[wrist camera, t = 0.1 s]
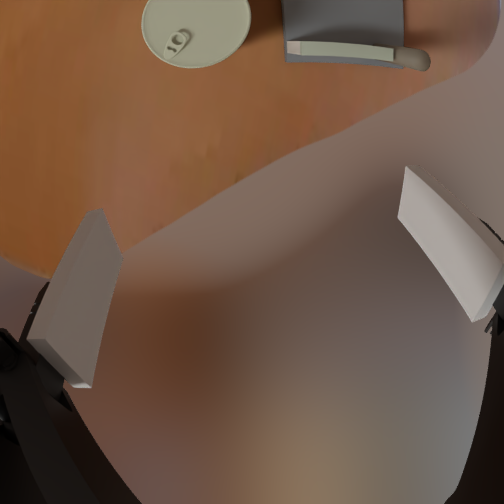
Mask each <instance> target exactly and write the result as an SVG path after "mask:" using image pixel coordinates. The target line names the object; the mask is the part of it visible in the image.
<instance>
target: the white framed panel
mask: <svg viewBox="0 0 504 504" xmlns="http://www.w3.org/2000/svg"><path fill="white" fill-rule="evenodd" d="M287 53H292V54H297V55H313V56H341V57H355V58H367V59H377V60H385V61H393V49H392V48H385V47H378V46H370V45H361V44H349V43H336V42H314V41H287Z"/></svg>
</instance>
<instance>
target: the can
mask: <svg viewBox="0 0 504 504" xmlns="http://www.w3.org/2000/svg"><path fill="white" fill-rule="evenodd" d="M250 25H251V9H250V5H249V2H248V0H149V1H148V2H147V4H146V6H145V9H144V12H143V15H142V24H141V26H142V33H143V37H144V40H145V42H146V44H147V46H148V47H149V49H150V50H151V51H152V52H153V53H154V54H155V55H156V56H157V57H158V58H160V59H161V60H163V61H165V62H166V63H169V64H171V65H174V66H178V67H182V68H202V67H207V66H211V65H214V64H216V63H219V62H221V61H223V60H224V59H226V58H228V57H229V56H231V55H232V54H233V53H234V52H235V51H236V50H237V49H238V48H239V47H240V46H241V45H242V43H243V42H244V40H245V38H246V37H247V35H248V32H249V29H250Z"/></svg>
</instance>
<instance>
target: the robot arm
mask: <svg viewBox="0 0 504 504" xmlns="http://www.w3.org/2000/svg"><path fill="white" fill-rule="evenodd" d="M398 219H399V220H400V221H401V222H402V224H403V225H404V226H405V227H406V229H407V230H408V231H409V232H410V234H411V235H412V236H413V238H414V239H415V240H416V241H417V243H418V244H419V245H420V247H421V248H422V249H423V251H424V252H425V253H426V255H427V256H428V257H429V259H430V260H431V261H432V263H433V264H434V266H435V267H436V268H437V270H438V271H439V272H440V274H441V275H442V277H443V278H444V280H445V281H446V283H447V284H448V286H449V287H450V289H451V290H452V292H453V293H454V295H455V296H456V298H457V299H458V301H459V302H460V304H461V305H462V307H463V308H464V310H465V312H466V313H467V315H468V316H469V318H470V320H471V321H472V322H474V321H476V320H479V319H481V318H484V317H486V316H487V314H488V312H489V311H490V308H491V307H492V305H493V306H494V308H495V309H496V313H495V314H494V316H493V318H492V319H491V320H490V322H489V324H488V325H487V327H486V329H485V332H486V333H487V332H488V330H489V329H490V327H491V326H492V331H491V333H490V334H492V338H491V348H490V357H489V365H488V372H487V378H486V385H485V391H484V396H483V401H482V405H481V411H480V415H479V419H478V423H477V427H476V431H475V435H474V438H473V442H472V445H471V449H470V452H469V455H468V458H467V462H466V465H465V468H464V470H463V473H462V476H461V479H460V482H459V484H458V486H457V488H456V490H455V492H454V493H453V494H452V495H451V496H450V497H449V498H448V499H447V500H446V502H445V503H444V504H504V241H503V240H501V238H500V237H499V236H498V235H497V234H496V233H495V231H494V230H493V229H491V227H490V226H489V225H488V224H487V223H485V222H484V221H482V220H481V219H479V218H478V217H476V216H475V215H474V214H473V213H472V212H471V211H470V210H469V209H468V208H467V207H466V206H465V205H464V204H463V203H462V202H461V201H460V200H459V199H458V198H457V197H456V196H454V195H453V194H452V193H451V192H450V191H449V190H448V189H447V188H446V187H444V186H443V185H442V184H441V183H440V182H439V181H437V180H436V179H435V178H434V177H433V176H432V175H430V174H429V173H428V172H427V171H425V170H424V169H423V168H422V167H421V166H419V165H414V166H406V168H405V176H404V182H403V189H402V195H401V202H400V207H399V213H398ZM122 261H123V256H122V254H121V252H120V250H119V247H118V245H117V243H116V240H115V238H114V236H113V233H112V231H111V228H110V226H109V224H108V221H107V219H106V216H105V214H104V211H103V209H102V208H101V209H97V210H92V211H88V212H87V213H86V215H85V217H84V218H83V220H82V222H81V223H80V225H79V227H78V229H77V231H76V232H75V234H74V236H73V238H72V240H71V242H70V243H69V245H68V247H67V249H66V251H65V253H64V255H63V257H62V259H61V261H60V263H59V265H58V267H57V269H56V271H55V273H54V275H53V277H52V279H51V282H47V283H46V284H45V286H44V287H43V288H42V289H41V291H40V292H39V294H38V296H37V298H36V300H35V302H34V306H33V307H32V309H31V312H30V313H31V314H30V315H29V317H28V319H27V321H26V324H25V326H24V329H23V331H22V334H21V337H20V339H19V342H17V341H16V340H15V339H14V338H13V337H12V335H11V334H10V333H9V332H8V331H7V330H6V329H4V328H0V504H142V503H141V502H140V501H139V500H138V499H137V497H136V496H135V495H134V494H133V493H132V491H131V490H130V489H129V488H128V486H127V485H126V484H125V482H124V481H123V480H122V478H121V477H120V476H119V474H118V473H117V472H116V470H115V469H114V468H113V466H112V465H111V463H110V462H109V461H108V459H107V458H106V456H105V455H104V453H103V452H102V450H101V449H100V447H99V446H98V444H97V443H96V441H95V439H94V438H93V436H92V435H91V433H90V431H89V430H88V428H87V426H86V425H85V423H84V421H83V420H82V418H81V416H80V415H79V413H78V411H77V409H76V407H75V406H74V404H73V402H72V400H71V398H70V396H69V395H68V392H67V391H66V390H65V389H64V388H63V383H64V379H65V380H66V381H67V382H68V383H69V384H71V385H72V386H73V387H77V388H92V383H93V377H94V372H95V367H96V361H97V357H98V352H99V348H100V343H101V338H102V334H103V330H104V326H105V322H106V318H107V314H108V310H109V306H110V303H111V299H112V295H113V292H114V288H115V285H116V281H117V278H118V274H119V271H120V268H121V264H122Z"/></svg>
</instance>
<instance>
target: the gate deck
mask: <svg viewBox="0 0 504 504" xmlns="http://www.w3.org/2000/svg"><path fill="white" fill-rule="evenodd" d="M281 6H282V19H283V34H284V50H285V62H327V63H349V64H363V65H374V66H383V67H392V68H400V69H403V66H404V67H408V68H411V69H415V70H418V71H426V70H427V69H428V68H429V67H430V63H431V61H430V57H429V55H428V53H427V52H425V51H424V50H419V49H414V48H408V47H404V19H403V0H281ZM287 41H314V42H336V43H349V44H361V45H370V46H378V47H385V48H392V49H393V61H385V60H377V59H367V58H355V57H341V56H313V55H297V54H292V53H287Z"/></svg>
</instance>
